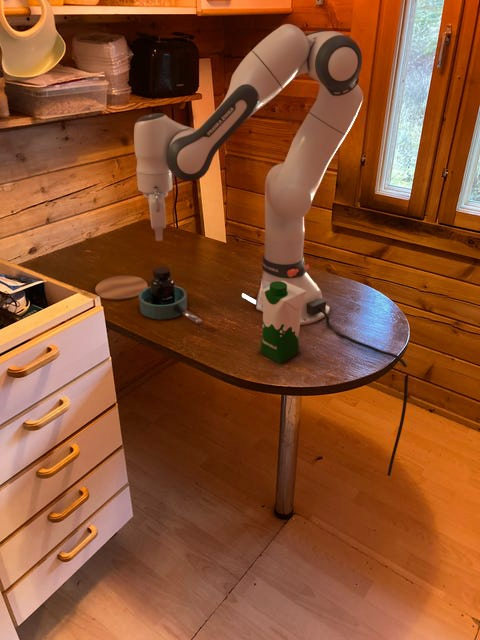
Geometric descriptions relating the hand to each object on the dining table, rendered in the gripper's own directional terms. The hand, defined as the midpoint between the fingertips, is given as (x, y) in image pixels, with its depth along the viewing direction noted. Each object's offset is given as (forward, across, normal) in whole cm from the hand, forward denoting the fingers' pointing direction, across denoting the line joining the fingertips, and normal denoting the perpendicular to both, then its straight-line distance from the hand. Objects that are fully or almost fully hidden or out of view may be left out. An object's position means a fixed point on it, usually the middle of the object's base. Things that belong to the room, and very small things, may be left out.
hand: (158, 233), depth 137 cm
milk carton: (+23, -28, -28) cm, 46 cm away
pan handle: (+21, -10, -6) cm, 24 cm away
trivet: (+23, +15, +12) cm, 30 cm away
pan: (+23, 0, 0) cm, 23 cm away
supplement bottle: (+23, 0, 0) cm, 23 cm away
